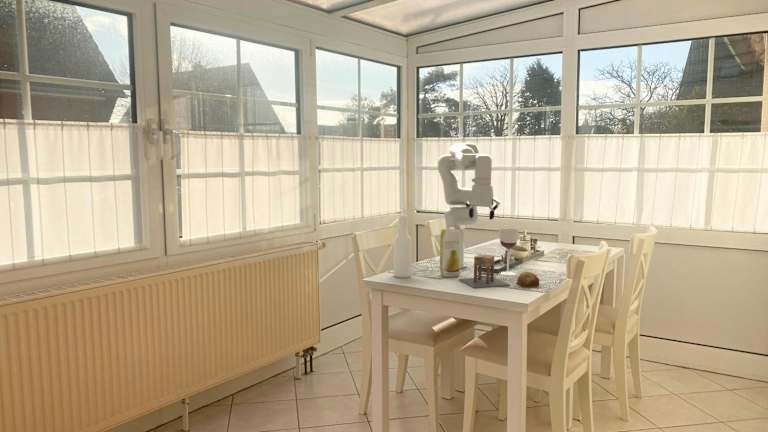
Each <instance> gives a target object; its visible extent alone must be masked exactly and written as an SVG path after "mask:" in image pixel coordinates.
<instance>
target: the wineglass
mask: <svg viewBox="0 0 768 432" xmlns="http://www.w3.org/2000/svg"><path fill="white" fill-rule="evenodd" d="M519 232H520V231H519V229H513V228H500V229H499V230H498V234H499V235H498V236H499V242H500V245H501V246H502V247H504V248H505V249H506V250H507V255H506V256H507V257H506V260H507V261H506V271H500V272H501V273H500V272H499V274H500V275H502V276H514V275H517V273H516V272H513V271H509V269H510V268H509V267H510V265H509V263H510V249H513V248H514V247H516V246H517V243H518V240H519Z"/></svg>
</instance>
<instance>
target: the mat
mask: <svg viewBox="0 0 768 432" xmlns="http://www.w3.org/2000/svg"><path fill="white" fill-rule="evenodd" d="M458 281H459V282H461V283H462V284H463V283H464V284H465V285H467V286H469V287H471V288H473V289H484V288H499V287H510V286H511V284H510V283H508V282H505V281H504V280H501V279H499V278H497V277H494V281H490V284H486V278H482V277H481V280H478V277H477V282H474V277H468V278H467V277H466V278H458Z"/></svg>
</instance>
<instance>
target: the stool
mask: <svg viewBox="0 0 768 432" xmlns="http://www.w3.org/2000/svg"><path fill="white" fill-rule="evenodd" d="M482 267H486V270H485V271H486V272H482V271H483V269H482ZM494 272H495V255H492V254H491V255H489V254H481V253H480V254H478V255H475V256H473V278H474V282H477V278H478V280H481V277H482V278H486V284H490V281H494V275H495V273H494Z"/></svg>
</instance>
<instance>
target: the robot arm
mask: <svg viewBox="0 0 768 432" xmlns="http://www.w3.org/2000/svg"><path fill="white" fill-rule="evenodd" d="M449 153H450V154H444V155H441V156H440V157H439V158H438V161H437V168H438V169H437V170H438V173H439V175H440V177H441V181H442V184H443V185H442V187H443V193H444V200H445V203H446V205H448V206H452V207H449V208H447V209H446V210H445V211H444V222H445V229H446V230H449V228H450V227H453V228H455V229H458V230H460V232H461V268H460V269H464V268H467V264H466V263H464V257H465V233H464V230H463V228H461V226H473V225H475V224H477V222H478V219H479V214H478V207H481V208H482V207H483V208H489V210H490V211H489V220H493V219H494V218H495V210H497V209H498V208H499V206H500V205H501V201H500V200H498V199H497V198H496V197H494V189H493V188H494V187H493V184H492V171H493V170H492V168H493V167H492V165H493V158H492V156H491V155H489V154H485V153H480V150H479V147H478V145H477V144H476V143H473V142H457V143H454V144H453V145H451V146H450V148H449ZM470 170H472V171H474V178H472V179H471V182H473V184H472V186H471V187H470V188H469V187H460V181H459V178H458V176H457V175H456V174H455V173H454V172H453V171H470ZM494 203H495V205H494Z"/></svg>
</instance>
